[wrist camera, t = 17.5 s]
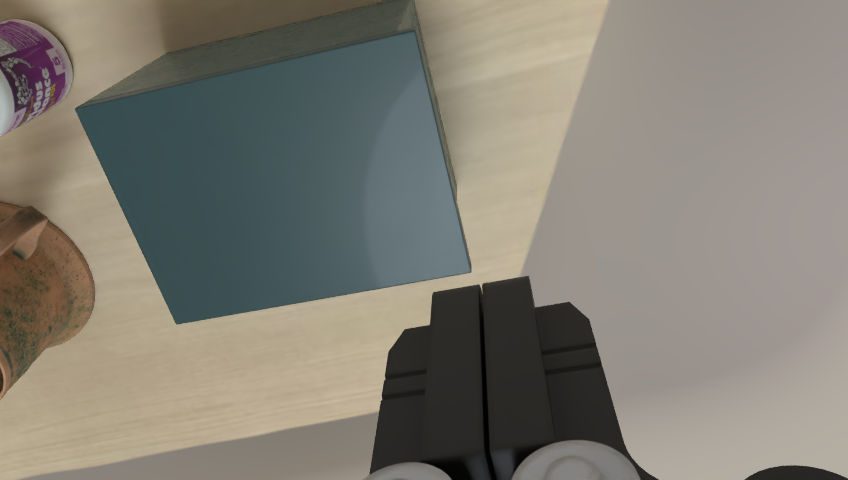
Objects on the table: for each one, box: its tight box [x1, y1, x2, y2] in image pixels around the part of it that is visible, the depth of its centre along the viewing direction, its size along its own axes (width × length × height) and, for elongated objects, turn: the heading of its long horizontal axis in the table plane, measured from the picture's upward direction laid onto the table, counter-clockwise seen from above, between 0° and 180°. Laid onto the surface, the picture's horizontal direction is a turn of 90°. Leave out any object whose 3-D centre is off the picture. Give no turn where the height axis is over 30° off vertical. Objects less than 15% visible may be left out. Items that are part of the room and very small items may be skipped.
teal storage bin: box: [85, 0, 457, 200], centre depth 38 cm, size 15×12×10 cm
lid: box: [75, 27, 471, 324], centre depth 33 cm, size 16×12×1 cm
